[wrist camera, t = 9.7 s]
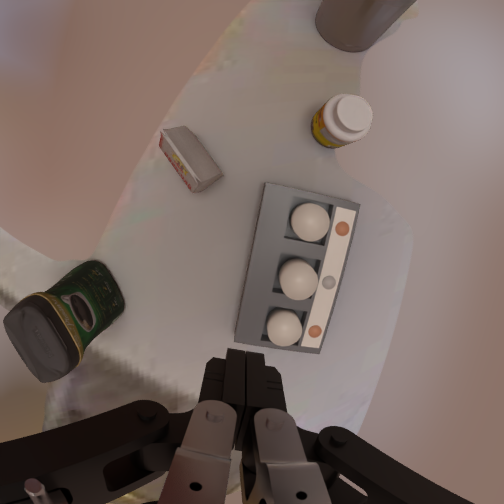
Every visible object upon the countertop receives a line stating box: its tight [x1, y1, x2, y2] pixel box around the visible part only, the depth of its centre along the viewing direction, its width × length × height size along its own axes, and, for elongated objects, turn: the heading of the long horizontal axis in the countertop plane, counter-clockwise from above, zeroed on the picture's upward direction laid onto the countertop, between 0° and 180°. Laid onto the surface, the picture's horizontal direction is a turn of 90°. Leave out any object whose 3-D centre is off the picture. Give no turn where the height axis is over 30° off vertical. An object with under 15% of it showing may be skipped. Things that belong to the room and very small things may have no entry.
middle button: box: [279, 258, 318, 300], centre depth 37 cm, size 4×4×3 cm
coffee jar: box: [3, 261, 124, 383], centre depth 33 cm, size 10×8×19 cm
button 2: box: [289, 202, 330, 241], centre depth 37 cm, size 4×4×3 cm
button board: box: [234, 183, 360, 354], centre depth 40 cm, size 21×12×3 cm, turn 169°
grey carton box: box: [159, 126, 223, 193], centre depth 33 cm, size 4×7×10 cm, turn 35°
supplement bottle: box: [311, 94, 373, 148], centre depth 33 cm, size 6×6×10 cm
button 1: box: [266, 307, 302, 346], centre depth 40 cm, size 4×4×3 cm
